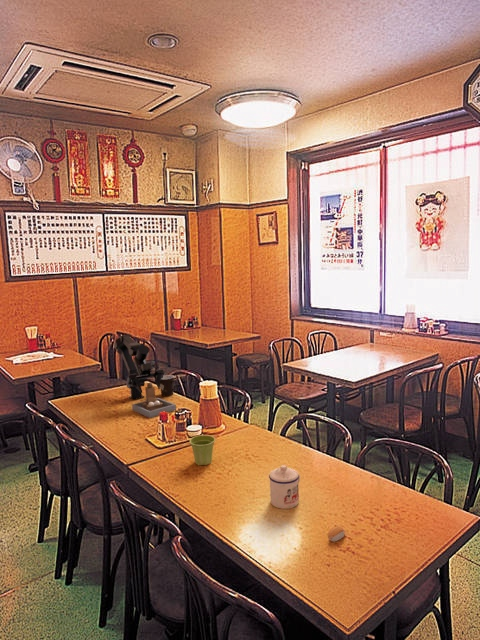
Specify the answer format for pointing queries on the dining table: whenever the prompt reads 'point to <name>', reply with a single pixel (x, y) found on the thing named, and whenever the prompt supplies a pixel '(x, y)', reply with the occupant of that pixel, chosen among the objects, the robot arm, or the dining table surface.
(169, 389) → the coffee mug
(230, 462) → the dining table surface
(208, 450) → the plant pot
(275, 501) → the teacup with lid
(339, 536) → the sushi
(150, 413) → the bin
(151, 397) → the brown wooden box
